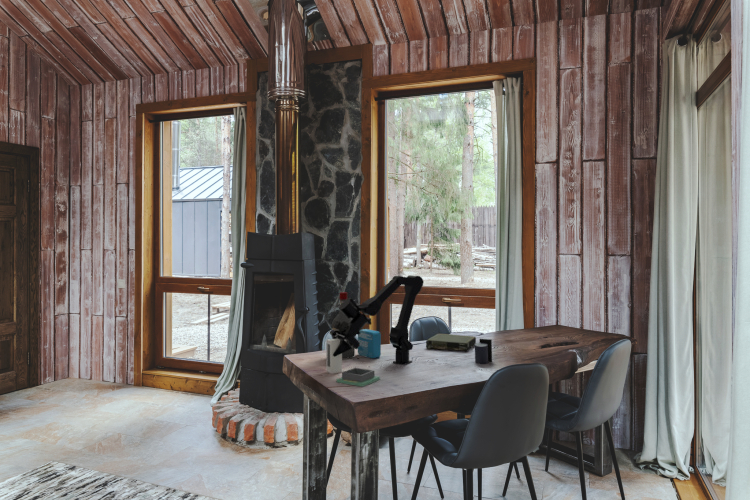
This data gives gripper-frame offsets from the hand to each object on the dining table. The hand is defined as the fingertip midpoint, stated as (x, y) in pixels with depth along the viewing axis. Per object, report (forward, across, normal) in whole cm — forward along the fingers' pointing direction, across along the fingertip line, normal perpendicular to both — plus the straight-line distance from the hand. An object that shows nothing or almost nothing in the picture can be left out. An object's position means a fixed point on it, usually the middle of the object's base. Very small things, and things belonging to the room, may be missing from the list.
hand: (331, 354), depth 200 cm
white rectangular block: (+4, 0, +6) cm, 7 cm away
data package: (-14, -19, +25) cm, 35 cm away
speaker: (-41, +17, +52) cm, 68 cm away
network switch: (-48, -18, +59) cm, 78 cm away
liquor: (-7, -24, +17) cm, 30 cm away
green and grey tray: (+2, +17, +8) cm, 19 cm away
